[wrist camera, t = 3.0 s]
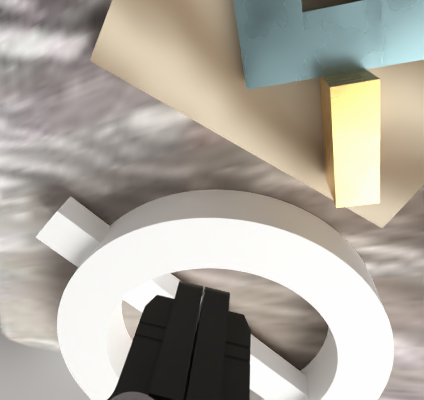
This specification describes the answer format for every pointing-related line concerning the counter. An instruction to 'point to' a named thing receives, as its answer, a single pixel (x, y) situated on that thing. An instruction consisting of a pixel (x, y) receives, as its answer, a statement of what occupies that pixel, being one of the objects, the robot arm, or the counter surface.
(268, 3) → the t-shaped piece
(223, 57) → the base board
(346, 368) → the white circle with bar
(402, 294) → the counter surface
